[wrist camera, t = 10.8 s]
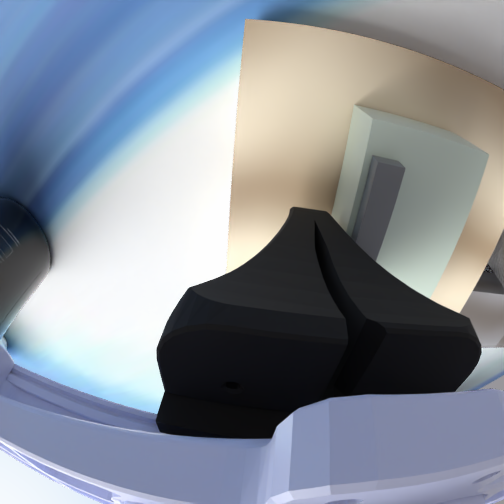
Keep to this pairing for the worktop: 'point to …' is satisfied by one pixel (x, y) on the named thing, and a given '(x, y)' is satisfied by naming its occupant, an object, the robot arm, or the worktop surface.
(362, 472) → the robot arm
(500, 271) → the peg
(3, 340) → the lidded jar
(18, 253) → the supplement bottle
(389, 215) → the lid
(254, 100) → the housing
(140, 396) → the worktop surface
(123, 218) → the worktop surface
